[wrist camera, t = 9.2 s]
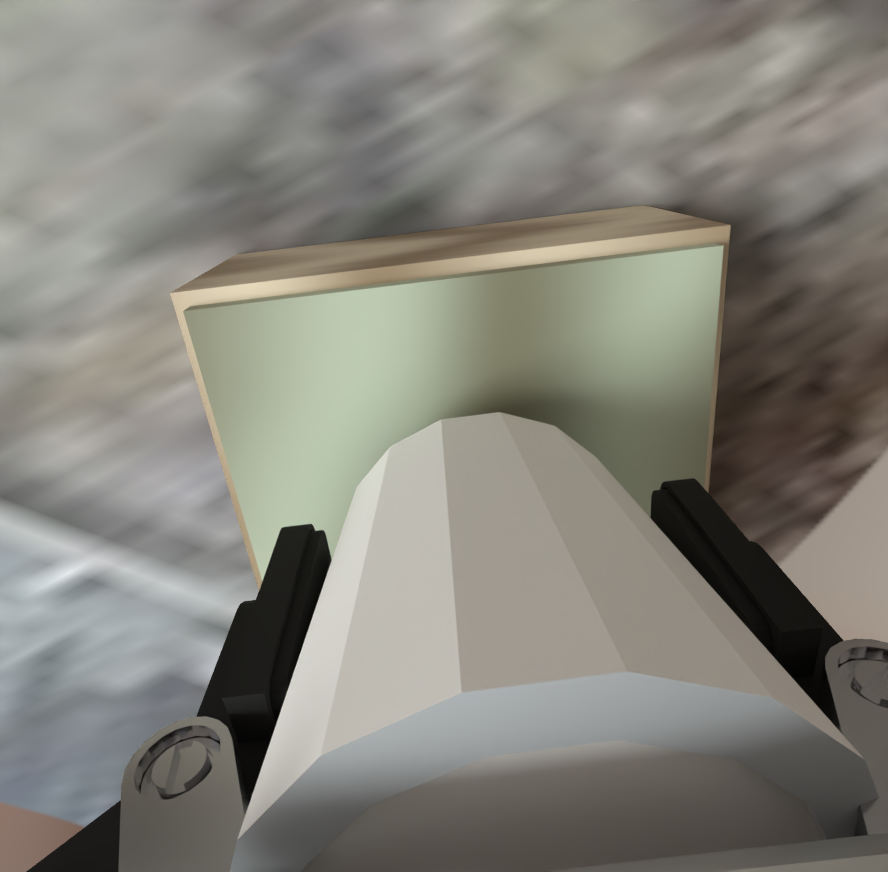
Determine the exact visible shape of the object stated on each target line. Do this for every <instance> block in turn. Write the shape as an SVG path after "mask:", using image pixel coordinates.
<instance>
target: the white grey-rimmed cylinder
mask: <svg viewBox="0 0 888 872" xmlns="http://www.w3.org/2000/svg"><path fill="white" fill-rule="evenodd" d="M876 798H879V796H878V793H877V791H876V788H875V785H874V783H873V780H872V777H871V775H870V772H869V769H868V767H867V764H866V761H865V759H864V758H863V757H862V756H861V755H860V754H859V753H858V751H857V750H856V749H855V748H854V747H853V746H852V745H851V744H850V742H849V741H848V740H847V739H846V738H845V737H844V736H843V734H842V733H841V732H840V731H839V730H838V729H837V728H836V727H835V725H834V724H833V723H832V722H831V721H830V720H829V719H828V718H827V716H826V715H825V714H824V713H823V712H822V711H821V710H820V709H819V707H818V706H817V705H816V704H815V703H814V702H813V701H812V700H811V698H810V697H809V696H808V695H807V694H806V693H805V692H804V691H803V689H802V688H801V687H800V686H799V685H798V684H797V683H796V682H795V680H794V679H793V678H792V677H791V676H790V675H789V674H788V673H787V671H786V670H785V669H784V668H783V667H782V666H781V665H780V664H779V662H778V661H777V660H776V659H775V658H774V657H773V656H772V655H771V653H770V652H769V651H768V650H767V649H766V648H765V647H764V646H763V644H762V643H761V642H760V641H759V640H758V639H757V638H756V637H755V635H754V634H753V633H752V632H751V631H750V630H749V629H748V628H747V626H746V625H745V624H744V623H743V622H742V621H741V620H740V619H739V617H738V616H737V615H736V614H735V613H734V612H733V611H732V610H731V608H730V607H729V606H728V605H727V604H726V603H725V602H724V601H723V599H722V598H721V597H720V596H719V595H718V594H717V593H716V592H715V590H714V589H713V588H712V587H711V586H710V585H709V584H708V583H707V581H706V580H705V579H704V578H703V577H702V576H701V575H700V574H699V572H698V571H697V570H696V569H695V568H694V567H693V566H692V565H691V563H690V562H689V561H688V560H687V559H686V558H685V557H684V556H683V554H682V553H681V552H680V551H679V550H678V549H677V548H676V547H675V545H674V544H673V543H672V542H671V541H670V540H669V539H668V538H667V536H666V535H665V534H664V533H663V532H662V531H661V530H660V529H659V527H658V526H657V525H656V524H655V523H654V522H653V521H652V520H651V518H650V517H649V516H648V515H647V514H646V513H645V512H644V511H643V509H642V508H641V507H640V506H639V505H638V504H637V503H636V502H635V500H634V499H633V498H632V497H631V496H630V495H629V494H628V493H627V491H626V490H625V489H624V488H623V487H622V486H621V485H620V484H619V482H618V481H617V480H616V479H615V478H614V477H613V476H612V475H611V473H610V472H609V471H608V470H607V469H606V468H605V467H604V466H603V464H602V463H601V462H600V461H599V460H598V459H597V458H596V457H595V456H594V455H593V454H591V453H590V452H589V451H587V450H586V449H585V448H583V447H582V446H581V445H579V444H578V443H577V442H576V441H574V440H573V439H572V438H570V437H569V436H568V435H566V434H565V433H564V432H562V431H561V430H560V429H558V428H557V427H556V426H554V425H550V424H546V423H542V422H538V421H534V420H530V419H526V418H522V417H518V416H514V415H510V414H506V413H501V412H496V413H488V414H481V415H473V416H465V417H457V418H449V419H441V420H439V421H437V422H435V423H433V424H432V425H430V426H428V427H426V428H424V429H422V430H420V431H418V432H417V433H415V434H413V435H411V436H409V437H407V438H405V439H403V440H402V441H400V442H398V443H396V444H394V445H392V446H390V447H389V449H388V450H387V451H386V452H385V453H384V455H383V456H382V457H381V458H380V459H379V461H378V462H377V463H376V464H375V465H374V467H373V468H372V469H371V470H370V471H369V473H368V474H367V475H366V476H365V477H364V479H363V480H362V481H361V482H360V484H359V485H358V486H357V487H356V490H355V493H354V496H353V499H352V502H351V505H350V508H349V511H348V514H347V517H346V520H345V522H344V525H343V528H342V531H341V534H340V537H339V540H338V543H337V546H336V549H335V552H334V555H333V558H332V561H331V564H330V567H329V570H328V573H327V576H326V579H325V582H324V585H323V588H322V590H321V593H320V596H319V599H318V602H317V605H316V608H315V611H314V614H313V617H312V620H311V623H310V626H309V629H308V632H307V635H306V638H305V641H304V644H303V647H302V650H301V653H300V655H299V658H298V661H297V664H296V667H295V670H294V673H293V676H292V679H291V682H290V685H289V688H288V691H287V694H286V697H285V700H284V703H283V706H282V709H281V712H280V715H279V718H278V721H277V723H276V726H275V729H274V732H273V735H272V738H271V741H270V744H269V747H268V750H267V753H266V756H265V759H264V762H263V765H262V768H261V771H260V774H259V777H258V780H257V783H256V786H255V789H254V791H253V794H252V797H251V800H250V803H249V806H248V809H247V812H246V815H245V818H244V821H243V824H242V827H241V830H240V833H239V836H238V839H237V842H236V847H235V851H234V855H233V860H232V864H231V868H230V872H545V871H554V870H563V869H571V868H580V867H588V866H597V865H606V864H614V863H623V862H632V861H640V860H649V859H658V858H666V857H675V856H684V855H693V854H702V853H711V852H720V851H729V850H738V849H747V848H756V847H765V846H774V845H783V844H792V843H801V842H810V841H819V840H828V839H837V838H846V837H854V832H855V828H856V823H857V818H858V813H859V809H860V804H863V803H865V802H868V801H871V800H873V799H876Z"/></svg>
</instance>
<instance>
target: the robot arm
mask: <svg viewBox="0 0 888 872" xmlns="http://www.w3.org/2000/svg"><path fill="white" fill-rule="evenodd" d="M650 518H651V520H652V521H653V522H654V523H655V524H656V525H657V526H658V527H659V529H660V530H661V531H662V532H663V533H664V534H665V535H666V536H667V538H668V539H669V540H670V541H671V542H672V543H673V544H674V545H675V547H676V548H677V549H678V550H679V551H680V552H681V553H682V554H683V556H684V557H685V558H686V559H687V560H688V561H689V562H690V563H691V565H692V566H693V567H694V568H695V569H696V570H697V571H698V572H699V574H700V575H701V576H702V577H703V578H704V579H705V580H706V581H707V583H708V584H709V585H710V586H711V587H712V588H713V589H714V590H715V592H716V593H717V594H718V595H719V596H720V597H721V598H722V599H723V601H724V602H725V603H726V604H727V605H728V606H729V607H730V608H731V610H732V611H733V612H734V613H735V614H736V615H737V616H738V617H739V619H740V620H741V621H742V622H743V623H744V624H745V625H746V626H747V628H748V629H749V630H750V631H751V632H752V633H753V634H754V635H755V637H756V638H757V639H758V640H759V641H760V642H761V643H762V644H763V646H764V647H765V648H766V649H767V650H768V651H769V652H770V653H771V655H772V656H773V657H774V658H775V659H776V660H777V661H778V662H779V664H780V665H781V666H782V667H783V668H784V669H785V670H786V671H787V673H788V674H789V675H790V676H791V677H792V678H793V679H794V680H795V682H796V683H797V684H798V685H799V686H800V687H801V688H802V689H803V691H804V692H805V693H806V694H807V695H808V696H809V697H810V698H811V700H812V701H813V702H814V703H815V704H816V705H817V706H818V707H819V709H820V710H821V711H822V712H823V713H824V714H825V715H826V716H827V718H828V719H829V720H830V721H831V722H832V723H833V724H834V725H835V727H836V728H837V729H838V730H839V731H840V732H841V733H842V734H843V736H844V737H845V738H846V739H847V740H848V741H849V742H850V744H851V745H852V746H853V747H854V748H855V749H856V750H857V751H858V753H859V754H860V755H861V756H862V757H863V758H864V759H865V761H866V764H867V767H868V769H869V772H870V775H871V777H872V780H873V783H874V785H875V788H876V791H877V793H878V796H879V798H876V799H873V800H871V801H868V802H865V803H863V804H860V809H859V813H858V818H857V823H856V828H855V832H854V837H846V838H837V839H828V840H819V841H810V842H801V843H792V844H783V845H774V846H765V847H756V848H747V849H738V850H729V851H720V852H711V853H702V854H693V855H684V856H675V857H666V858H658V859H649V860H640V861H632V862H623V863H614V864H606V865H597V866H588V867H580V868H571V869H563V870H554V871H545V872H888V643H886V642H881V641H877V640H872V639H852V640H847V641H843V639H842V638H841V637H840V636H839V635H838V634H837V633H836V632H835V630H834V629H833V628H832V627H831V626H830V625H829V623H828V622H827V621H826V620H825V619H824V618H823V617H822V615H821V614H820V613H819V612H818V611H817V610H816V609H815V607H814V606H813V605H812V604H811V603H810V602H809V601H808V599H807V598H806V597H805V596H804V595H803V594H802V593H801V592H800V590H799V589H798V588H797V587H796V586H795V585H794V584H793V582H792V581H791V580H790V579H789V578H788V577H787V576H786V574H785V573H784V572H783V571H782V570H781V569H780V567H779V566H778V565H777V564H776V563H775V562H774V561H773V559H772V558H771V557H770V556H769V555H768V554H767V553H766V552H765V550H764V549H763V548H762V547H761V546H760V545H758V544H757V543H755V542H752V541H749V540H748V539H747V538H746V537H745V536H744V534H743V533H742V532H741V531H740V530H739V529H738V527H737V526H736V525H735V524H734V523H733V522H732V520H731V519H730V518H729V517H728V516H727V515H726V513H725V512H724V511H723V510H722V509H721V508H720V506H719V505H718V504H717V503H716V502H715V501H714V499H713V498H712V497H711V496H710V495H709V494H708V492H707V491H706V490H705V489H704V488H703V487H702V485H701V484H700V483H699V482H698V481H697V480H696V479H694V478H690V479H681V480H673V481H665V482H663V483H662V484H661V487H660V490H654V491H653V492H652V496H651V517H650ZM331 561H332V559H331V555H330V550H329V546H328V542H327V537H326V534H325V532H324V530H318V531H315V528H314V526H313V525H312V524H304V525H296V526H287V527H282V528H281V530H280V532H279V535H278V538H277V541H276V544H275V547H274V549H273V552H272V555H271V558H270V561H269V564H268V567H267V570H266V573H265V575H264V578H263V581H262V584H261V587H260V590H259V593H258V596H257V598H256V600H252V601H244V602H243V603H241V604H240V605H239V607H238V609H237V611H236V614H235V617H234V619H233V622H232V625H231V627H230V630H229V632H228V635H227V638H226V640H225V643H224V646H223V648H222V651H221V653H220V656H219V659H218V661H217V664H216V667H215V669H214V672H213V674H212V677H211V680H210V682H209V685H208V688H207V690H206V693H205V696H204V698H203V701H202V703H201V706H200V709H199V711H198V714H197V717H190V718H187V719H183V720H180V721H176V722H174V723H172V724H170V725H168V726H166V727H165V728H163V729H161V730H159V731H158V732H157V733H155V734H154V735H153V736H151V737H150V738H149V739H148V740H146V741H145V742H144V743H143V744H142V745H141V747H140V748H139V749H138V750H137V751H136V752H135V753H134V754H133V756H132V758H131V759H130V761H129V763H128V765H127V767H126V769H125V771H124V775H123V780H122V784H121V800H120V801H119V802H118V803H116V804H115V805H114V806H112V807H111V808H110V809H109V810H107V811H106V812H105V813H103V814H102V815H101V816H99V817H98V818H97V819H95V820H94V821H93V822H91V823H90V824H89V825H87V826H86V827H85V828H83V829H82V830H81V831H80V832H78V833H77V834H76V835H75V836H73V837H72V838H70V839H69V840H68V841H66V842H65V843H64V844H62V845H61V846H60V847H58V848H57V849H56V850H55V851H53V852H52V853H50V854H49V855H48V856H47V857H45V858H44V859H43V860H41V861H40V862H39V863H37V864H36V865H35V866H33V867H32V868H31V869H30V870H28V871H27V872H230V868H231V864H232V860H233V855H234V851H235V847H236V842H237V839H238V836H239V833H240V830H241V827H242V824H243V821H244V818H245V815H246V812H247V809H248V806H249V803H250V800H251V797H252V794H253V791H254V789H255V786H256V783H257V780H258V777H259V774H260V771H261V768H262V765H263V762H264V759H265V756H266V753H267V750H268V747H269V744H270V741H271V738H272V735H273V732H274V729H275V726H276V723H277V721H278V718H279V715H280V712H281V709H282V706H283V703H284V700H285V697H286V694H287V691H288V688H289V685H290V682H291V679H292V676H293V673H294V670H295V667H296V664H297V661H298V658H299V655H300V653H301V650H302V647H303V644H304V641H305V638H306V635H307V632H308V629H309V626H310V623H311V620H312V617H313V614H314V611H315V608H316V605H317V602H318V599H319V596H320V593H321V590H322V588H323V585H324V582H325V579H326V576H327V573H328V570H329V567H330V564H331Z"/></svg>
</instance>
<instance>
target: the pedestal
mask: <svg viewBox="0 0 888 872" xmlns="http://www.w3.org/2000/svg"><path fill="white" fill-rule="evenodd" d="M730 228H731V225H729V224H725V223H720V222H716V221H711V220H707V219H702V218H698V217H694V216H689V215H685V214H680V213H676V212H671V211H667V210H663V209H658V208H654V207H649V206H645V205H639V206H631V207H623V208H614V209H606V210H598V211H590V212H582V213H573V214H565V215H557V216H549V217H540V218H532V219H524V220H516V221H508V222H499V223H491V224H483V225H475V226H467V227H458V228H450V229H442V230H434V231H425V232H417V233H409V234H401V235H393V236H384V237H376V238H368V239H360V240H352V241H343V242H335V243H327V244H319V245H310V246H302V247H294V248H286V249H278V250H269V251H261V252H253V253H245V254H237V255H235V256H233V257H231V258H230V259H228V260H226V261H224V262H223V263H221V264H219V265H218V266H216V267H214V268H212V269H211V270H209V271H207V272H205V273H204V274H202V275H200V276H199V277H197V278H195V279H193V280H192V281H190V282H188V283H187V284H185V285H183V286H181V287H180V288H178V289H176V290H175V291H173V292H171V293H170V294H171V298H172V301H173V304H174V308H175V311H176V314H177V318H178V321H179V324H180V328H181V331H182V334H183V338H184V341H185V344H186V348H187V351H188V354H189V358H190V361H191V364H192V368H193V371H194V375H195V378H196V381H197V385H198V388H199V391H200V395H201V398H202V401H203V405H204V408H205V411H206V415H207V418H208V421H209V425H210V428H211V431H212V435H213V438H214V442H215V445H216V448H217V452H218V455H219V458H220V462H221V465H222V468H223V472H224V475H225V478H226V482H227V485H228V488H229V492H230V495H231V498H232V502H233V505H234V509H235V512H236V515H237V519H238V522H239V525H240V529H241V532H242V535H243V539H244V542H245V545H246V549H247V552H248V555H249V559H250V562H251V565H252V569H253V572H254V576H255V579H256V582H257V586H258V589H259V590H260V587H261V584H262V581H263V578H264V575H265V573H266V570H267V567H268V564H269V561H270V558H271V555H272V552H273V549H274V547H275V544H276V541H277V538H278V535H279V532H280V530H281V528H282V527H287V526H296V525H304V524H312V525H313V526H314V528H315V531H318V530H324V532H325V534H326V537H327V542H328V546H329V550H330V555H331V559H332V558H333V555H334V552H335V549H336V546H337V543H338V540H339V537H340V534H341V531H342V528H343V525H344V522H345V520H346V517H347V514H348V511H349V508H350V505H351V502H352V499H353V496H354V493H355V490H356V487H357V486H358V485H359V484H360V482H361V481H362V480H363V479H364V477H365V476H366V475H367V474H368V473H369V471H370V470H371V469H372V468H373V467H374V465H375V464H376V463H377V462H378V461H379V459H380V458H381V457H382V456H383V455H384V453H385V452H386V451H387V450H388V449H389V447H390V446H392V445H394V444H396V443H398V442H400V441H402V440H403V439H405V438H407V437H409V436H411V435H413V434H415V433H417V432H418V431H420V430H422V429H424V428H426V427H428V426H430V425H432V424H433V423H435V422H437V421H439V420H441V419H449V418H457V417H465V416H473V415H481V414H488V413H496V412H501V413H506V414H510V415H514V416H518V417H522V418H526V419H530V420H534V421H538V422H542V423H546V424H550V425H554V426H556V427H557V428H558V429H560V430H561V431H562V432H564V433H565V434H566V435H568V436H569V437H570V438H572V439H573V440H574V441H576V442H577V443H578V444H579V445H581V446H582V447H583V448H585V449H586V450H587V451H589V452H590V453H591V454H593V455H594V456H595V457H596V458H597V459H598V460H599V461H600V462H601V463H602V464H603V466H604V467H605V468H606V469H607V470H608V471H609V472H610V473H611V475H612V476H613V477H614V478H615V479H616V480H617V481H618V482H619V484H620V485H621V486H622V487H623V488H624V489H625V490H626V491H627V493H628V494H629V495H630V496H631V497H632V498H633V499H634V500H635V502H636V503H637V504H638V505H639V506H640V507H641V508H642V509H643V511H644V512H645V513H646V514H647V515H648V516H649V517H651V496H652V492H653V491H654V490H660V487H661V484H662V483H663V482H665V481H673V480H681V479H690V478H694V479H696V480H697V481H698V482H699V483H700V484H701V485H702V487H703V488H704V489H705V490H706V491H707V492H708V491H709V479H710V467H711V455H712V443H713V431H714V419H715V407H716V395H717V383H718V371H719V359H720V347H721V335H722V323H723V311H724V299H725V287H726V275H727V264H728V252H729V240H730Z"/></svg>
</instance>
